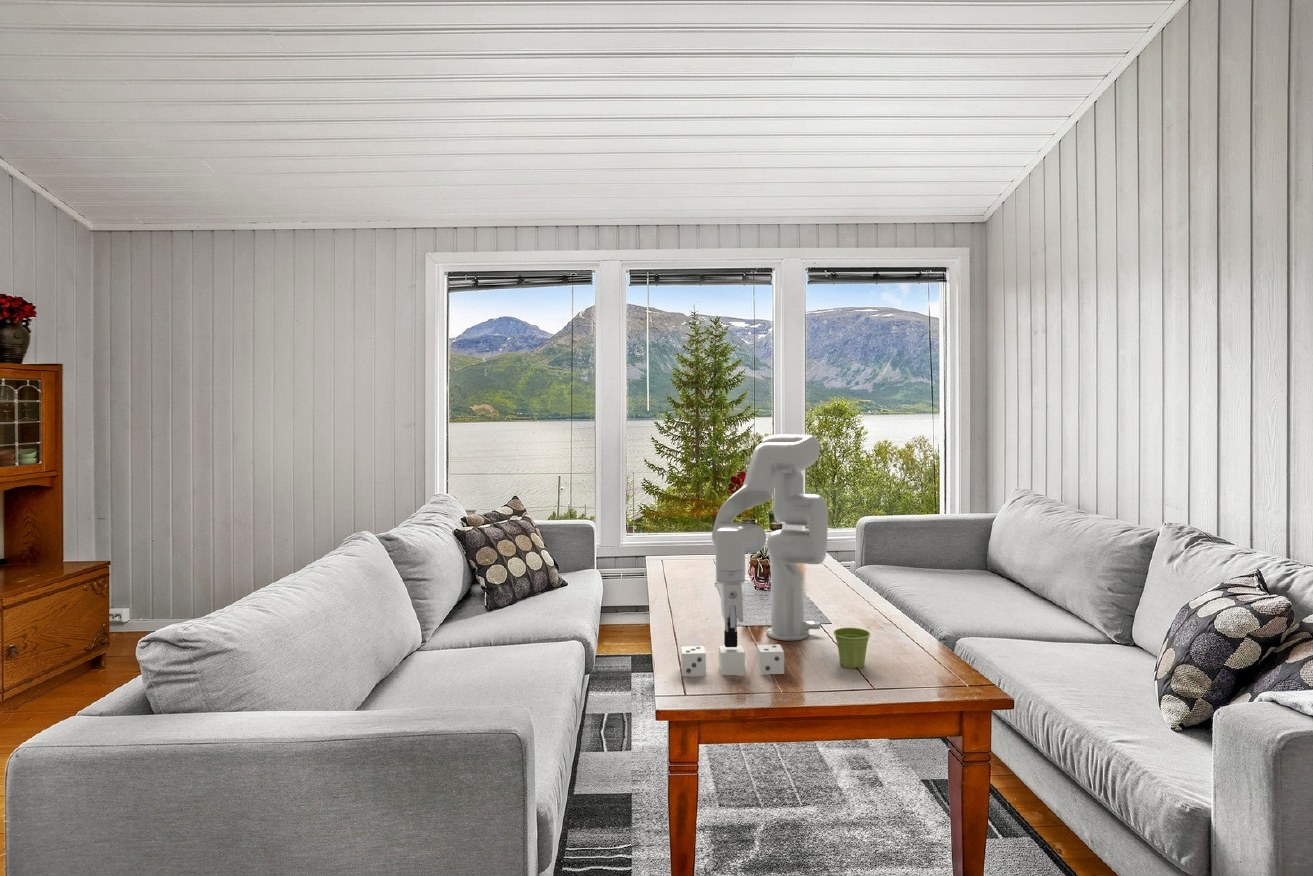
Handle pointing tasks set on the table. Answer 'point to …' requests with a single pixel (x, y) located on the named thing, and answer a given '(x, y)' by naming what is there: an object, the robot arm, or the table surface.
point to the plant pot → (852, 646)
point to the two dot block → (770, 659)
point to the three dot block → (693, 661)
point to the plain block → (732, 660)
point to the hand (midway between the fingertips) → (730, 646)
